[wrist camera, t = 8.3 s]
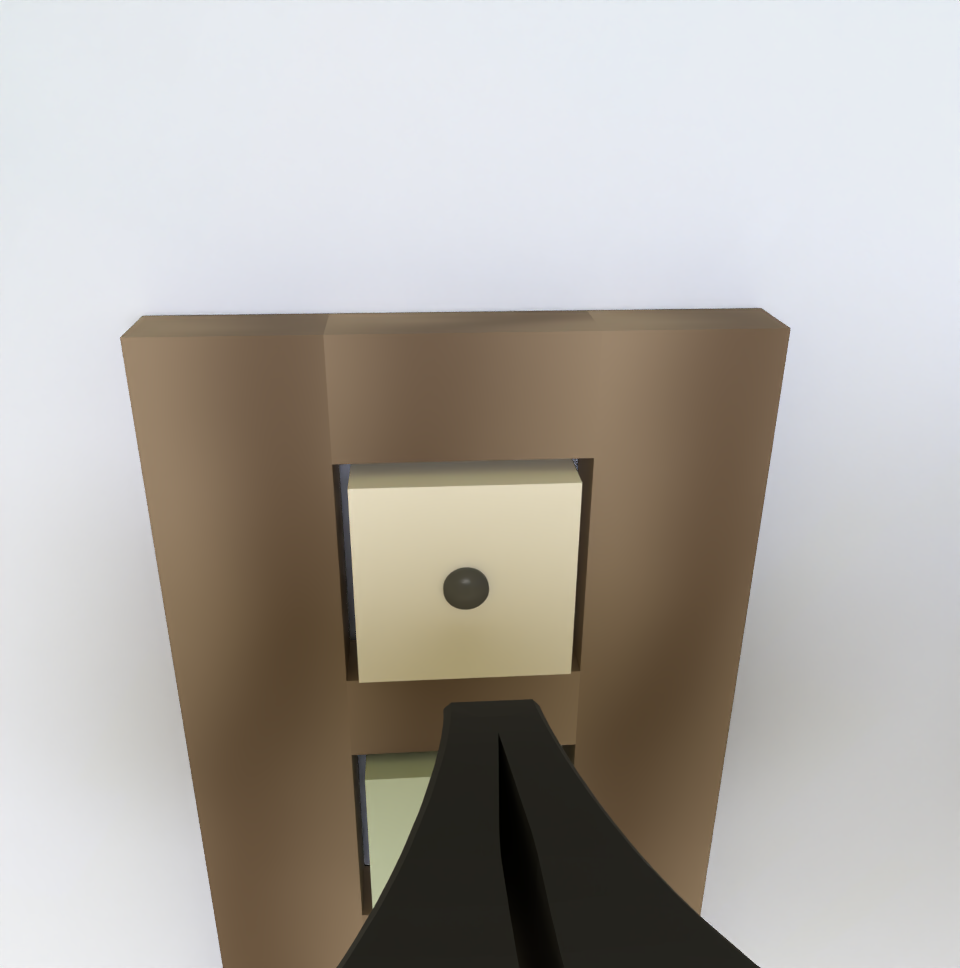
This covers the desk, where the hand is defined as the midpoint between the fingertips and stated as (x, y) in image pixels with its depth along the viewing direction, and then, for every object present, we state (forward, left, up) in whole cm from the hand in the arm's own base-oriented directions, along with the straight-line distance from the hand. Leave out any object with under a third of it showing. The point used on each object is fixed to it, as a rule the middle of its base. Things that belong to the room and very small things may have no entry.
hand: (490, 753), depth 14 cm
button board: (0, +7, -7) cm, 10 cm away
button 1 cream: (0, 0, -8) cm, 8 cm away
